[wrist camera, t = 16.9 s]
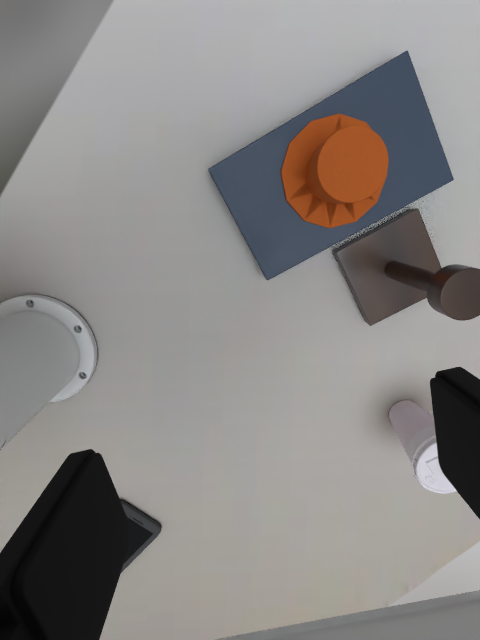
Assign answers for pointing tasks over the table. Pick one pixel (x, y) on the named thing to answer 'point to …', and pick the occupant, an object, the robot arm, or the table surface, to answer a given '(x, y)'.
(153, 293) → the table surface
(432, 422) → the smoothie
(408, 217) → the hat stand
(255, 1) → the table surface
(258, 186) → the low stand
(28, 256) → the table surface
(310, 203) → the hat
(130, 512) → the cell phone
